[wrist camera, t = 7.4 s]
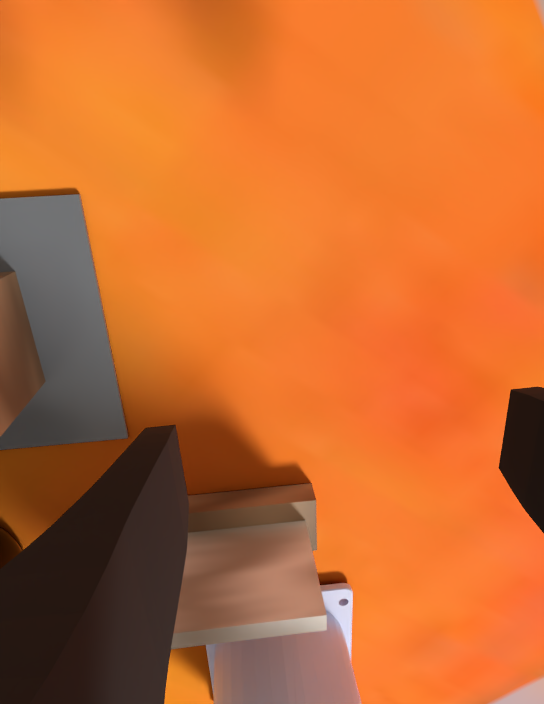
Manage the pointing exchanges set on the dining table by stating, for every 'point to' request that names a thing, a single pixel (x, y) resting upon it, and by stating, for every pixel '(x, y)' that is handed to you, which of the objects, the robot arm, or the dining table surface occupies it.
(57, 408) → the coaster
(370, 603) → the dining table surface
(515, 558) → the dining table surface
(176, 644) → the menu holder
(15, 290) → the walnut block
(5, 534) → the supplement bottle
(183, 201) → the dining table surface
